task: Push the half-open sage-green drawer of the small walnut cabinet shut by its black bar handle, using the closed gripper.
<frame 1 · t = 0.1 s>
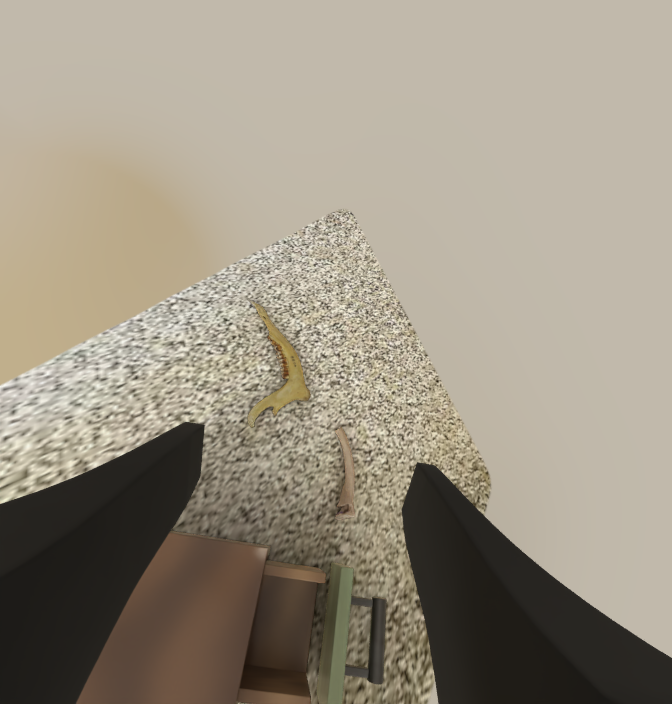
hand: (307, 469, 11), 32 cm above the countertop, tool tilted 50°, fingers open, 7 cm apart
drawer: (297, 625, 30), point 4 cm above the countertop, slide at 7.0 cm
bone: (342, 472, 42), on the countertop
jawbone: (267, 367, 48), on the countertop
cabinet: (192, 600, 33), on the countertop
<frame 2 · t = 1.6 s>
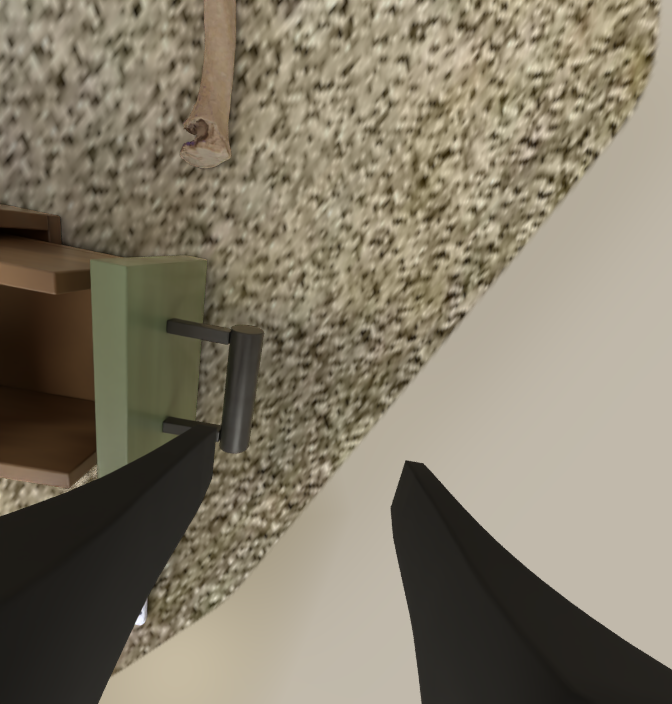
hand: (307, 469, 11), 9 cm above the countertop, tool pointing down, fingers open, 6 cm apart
drawer: (81, 357, 15), point 4 cm above the countertop, slide at 7.0 cm
bone: (211, 39, 15), on the countertop
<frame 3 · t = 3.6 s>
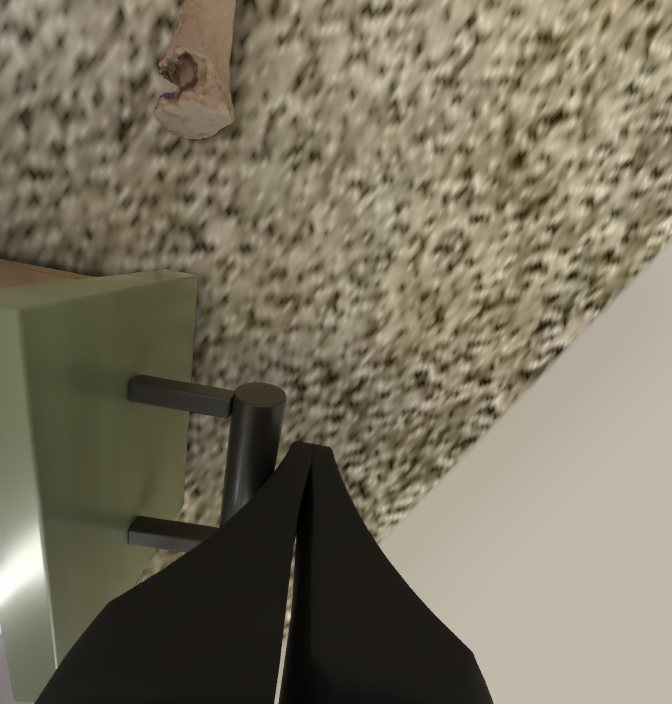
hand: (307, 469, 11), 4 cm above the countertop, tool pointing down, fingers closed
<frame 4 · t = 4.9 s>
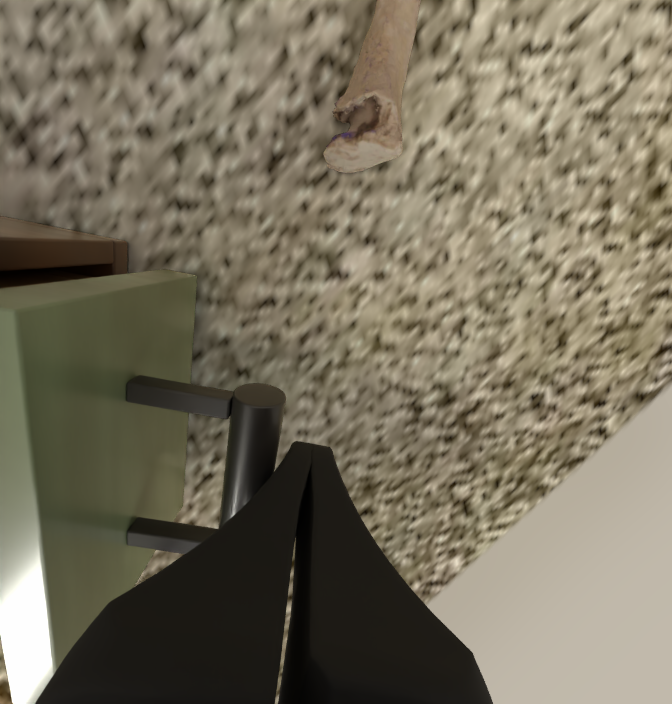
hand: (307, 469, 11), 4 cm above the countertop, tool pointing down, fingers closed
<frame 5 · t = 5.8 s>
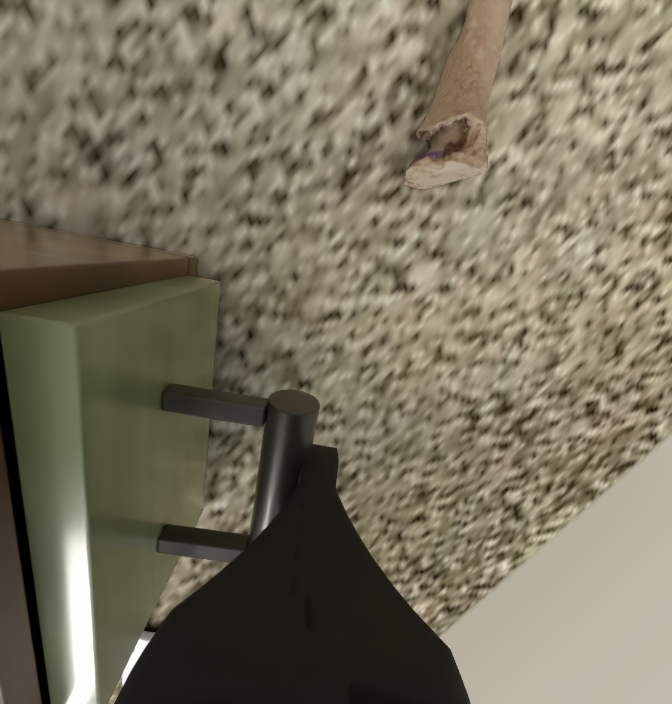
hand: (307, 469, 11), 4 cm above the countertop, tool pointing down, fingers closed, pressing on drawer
drawer: (26, 442, 9), point 4 cm above the countertop, slide at 0.0 cm, touching cabinet, gripper
cabinet: (24, 367, 13), on the countertop
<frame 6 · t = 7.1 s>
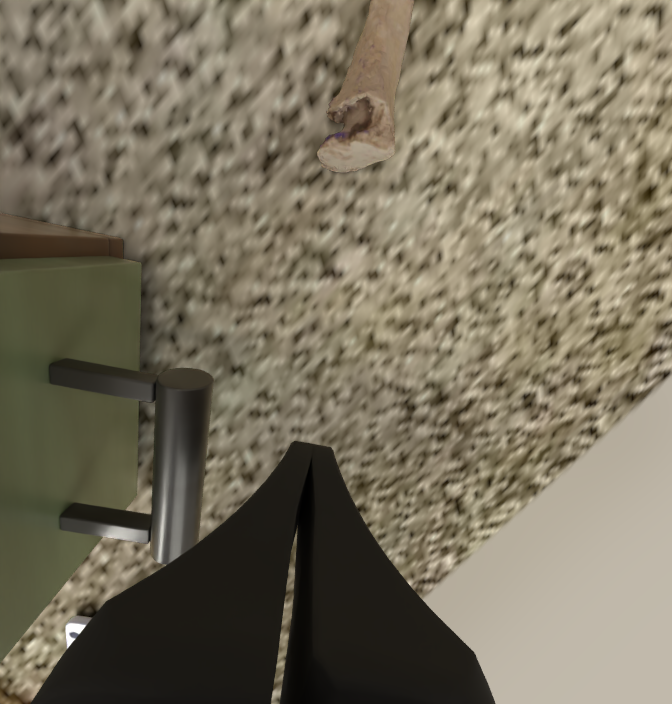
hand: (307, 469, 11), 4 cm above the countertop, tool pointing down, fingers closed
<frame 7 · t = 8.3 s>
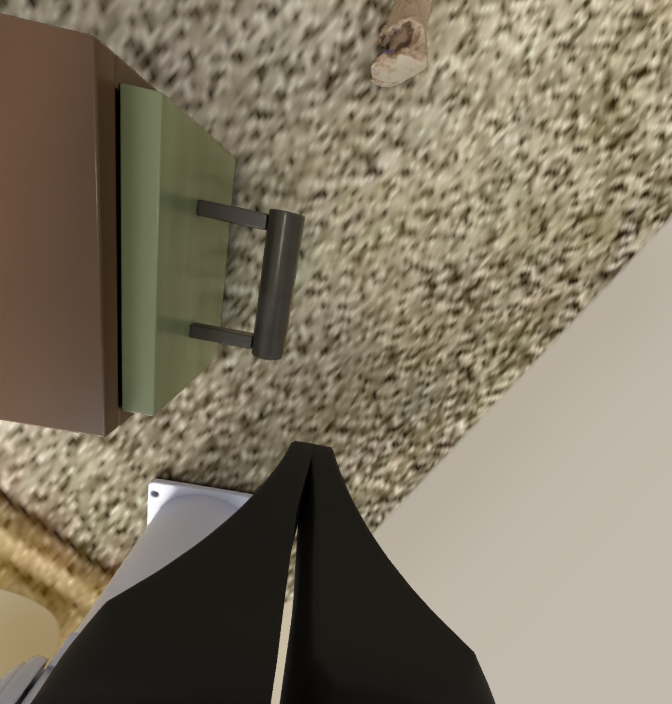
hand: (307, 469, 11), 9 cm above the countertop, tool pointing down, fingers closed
drawer: (99, 251, 14), point 4 cm above the countertop, slide at 0.0 cm, touching cabinet
cabinet: (84, 236, 17), on the countertop
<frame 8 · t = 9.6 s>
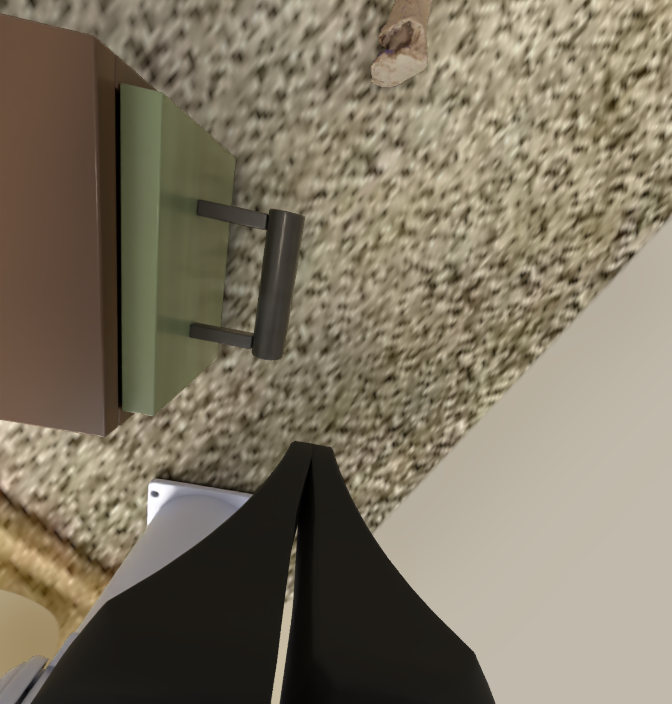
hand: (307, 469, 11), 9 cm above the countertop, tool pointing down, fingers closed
drawer: (99, 251, 14), point 4 cm above the countertop, slide at 0.0 cm, touching cabinet
cabinet: (84, 236, 17), on the countertop
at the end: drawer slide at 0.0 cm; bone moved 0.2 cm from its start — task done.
